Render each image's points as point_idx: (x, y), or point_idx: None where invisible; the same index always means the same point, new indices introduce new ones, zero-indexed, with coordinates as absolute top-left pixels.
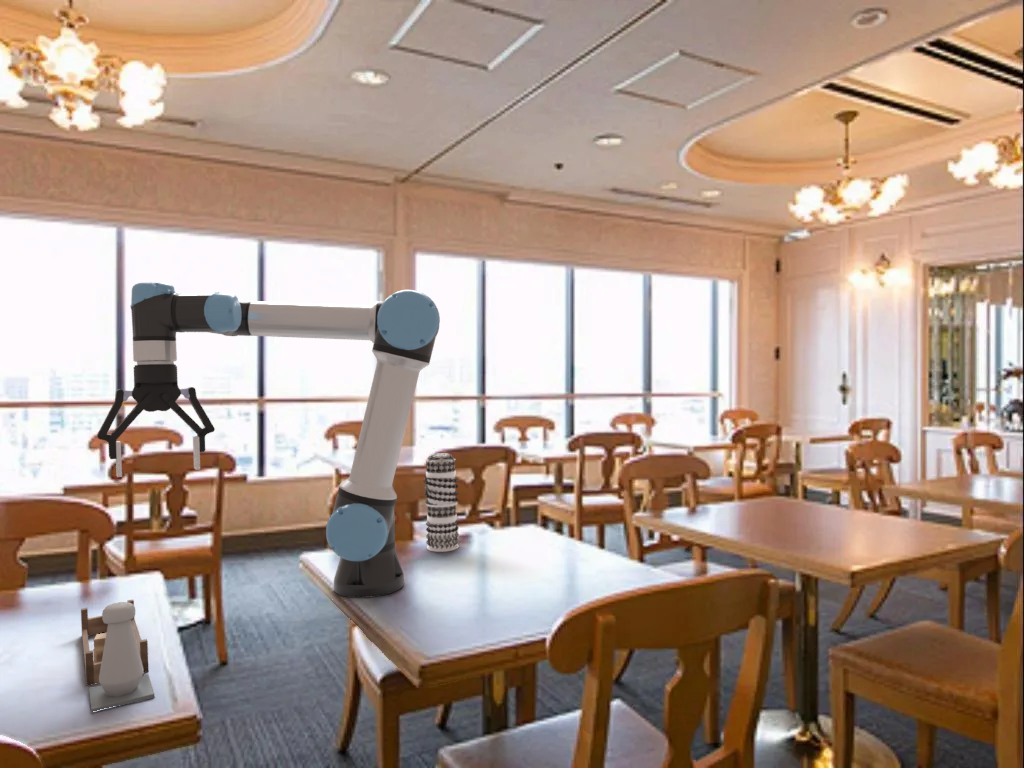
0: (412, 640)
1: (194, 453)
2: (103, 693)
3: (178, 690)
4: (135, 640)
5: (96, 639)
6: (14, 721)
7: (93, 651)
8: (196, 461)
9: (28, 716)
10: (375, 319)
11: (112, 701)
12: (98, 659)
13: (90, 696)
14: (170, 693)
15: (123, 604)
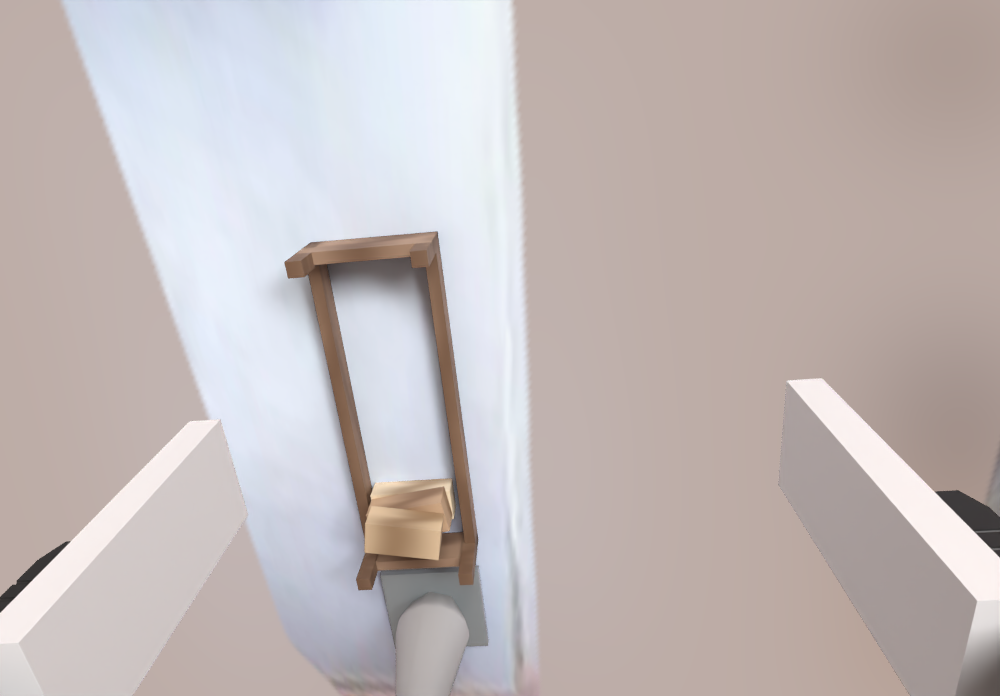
0: None
1: (844, 519)
2: (407, 607)
3: (526, 633)
4: (451, 688)
5: (369, 552)
6: (285, 613)
7: (367, 512)
8: (811, 531)
9: (302, 607)
10: None
11: None
12: None
13: (387, 607)
14: (513, 637)
15: None
